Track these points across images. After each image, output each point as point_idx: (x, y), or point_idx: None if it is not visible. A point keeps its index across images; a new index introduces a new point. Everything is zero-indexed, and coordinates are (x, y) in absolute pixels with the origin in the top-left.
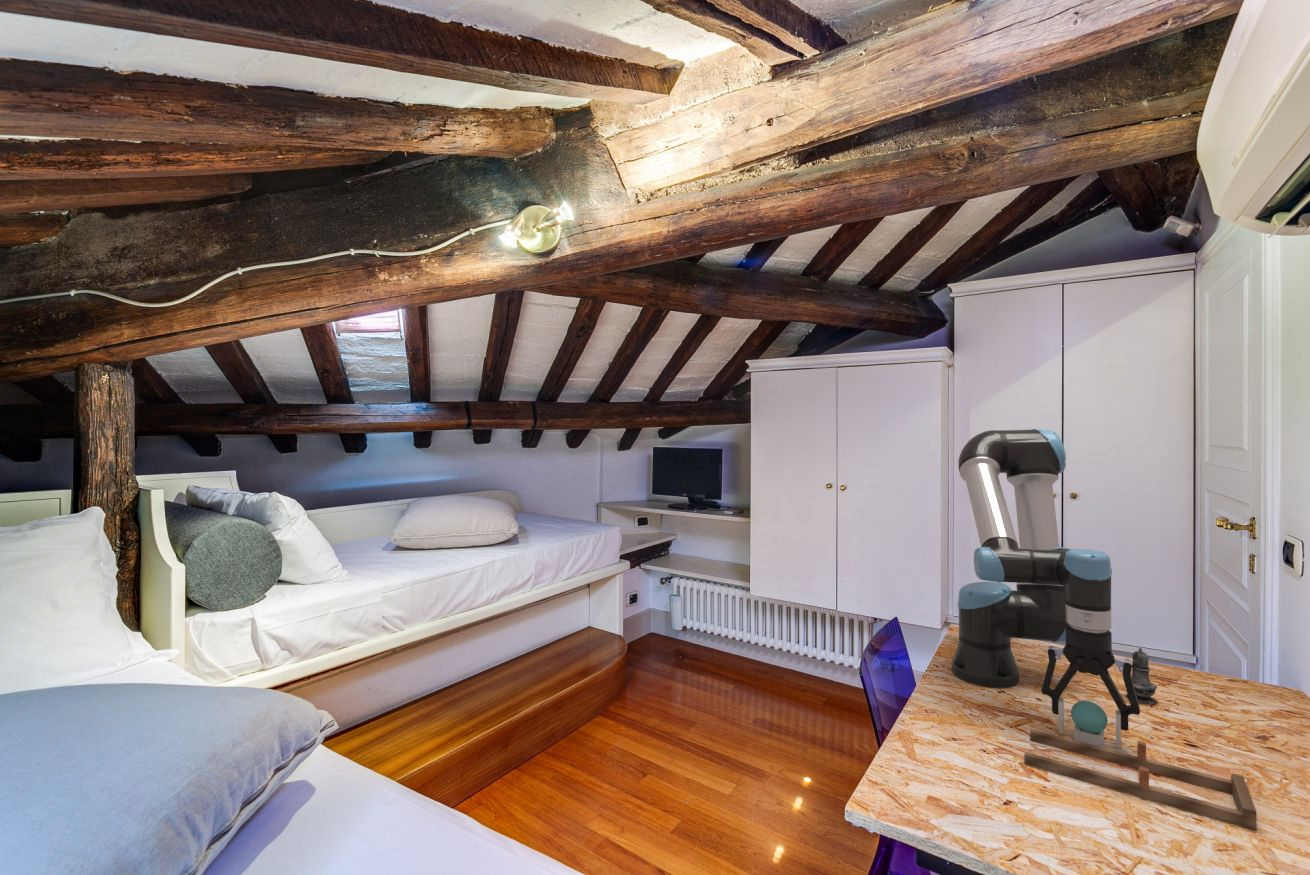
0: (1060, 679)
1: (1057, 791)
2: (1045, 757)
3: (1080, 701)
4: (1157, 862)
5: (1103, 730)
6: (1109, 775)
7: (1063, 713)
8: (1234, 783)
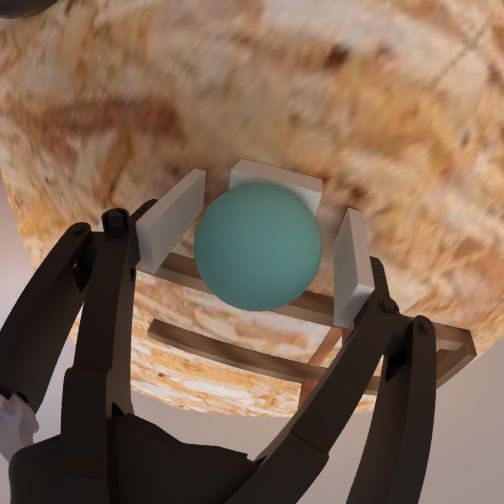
0: (88, 289)
1: (201, 366)
2: (175, 342)
3: (211, 269)
4: (277, 416)
5: (313, 214)
6: (265, 370)
7: (181, 205)
8: (445, 373)
